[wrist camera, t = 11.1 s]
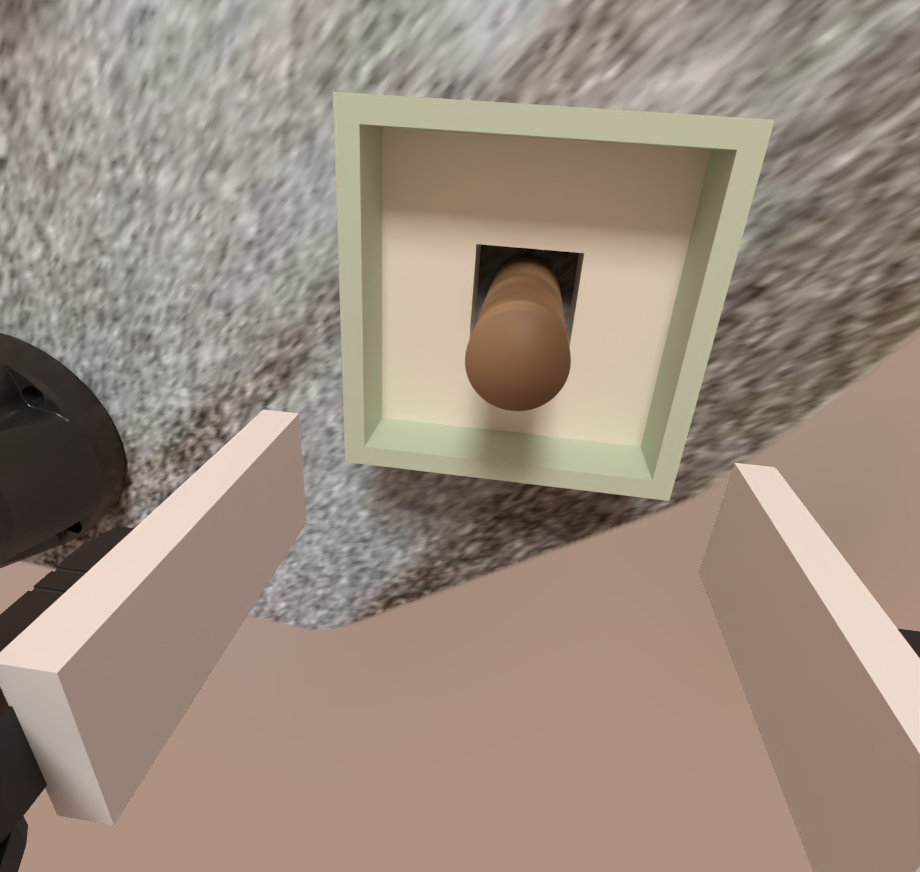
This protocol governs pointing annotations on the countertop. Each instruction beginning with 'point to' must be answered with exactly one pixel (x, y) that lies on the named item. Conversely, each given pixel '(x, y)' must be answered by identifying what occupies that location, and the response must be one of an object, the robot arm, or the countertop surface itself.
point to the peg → (520, 337)
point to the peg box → (547, 228)
